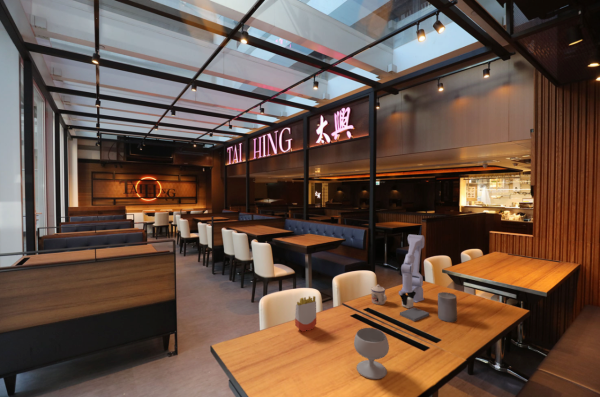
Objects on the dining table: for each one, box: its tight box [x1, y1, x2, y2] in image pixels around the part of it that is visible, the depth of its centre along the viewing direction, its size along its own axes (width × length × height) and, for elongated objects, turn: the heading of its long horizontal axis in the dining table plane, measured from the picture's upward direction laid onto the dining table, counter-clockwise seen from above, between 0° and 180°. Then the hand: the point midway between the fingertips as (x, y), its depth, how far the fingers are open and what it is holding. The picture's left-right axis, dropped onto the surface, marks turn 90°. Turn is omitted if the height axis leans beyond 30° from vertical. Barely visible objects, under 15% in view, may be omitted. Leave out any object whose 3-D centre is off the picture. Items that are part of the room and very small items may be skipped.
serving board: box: [399, 306, 430, 322], centre depth 164 cm, size 14×10×2 cm
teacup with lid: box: [370, 284, 388, 306], centre depth 183 cm, size 12×9×12 cm
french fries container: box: [294, 295, 317, 332], centre depth 149 cm, size 5×11×18 cm, turn 118°
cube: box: [401, 297, 415, 309], centre depth 176 cm, size 5×5×5 cm
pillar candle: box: [437, 291, 458, 323], centre depth 159 cm, size 10×10×15 cm
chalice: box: [353, 327, 390, 380], centre depth 114 cm, size 14×14×15 cm
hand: (407, 303), depth 176 cm, fingers closed on cube, 5 cm apart
